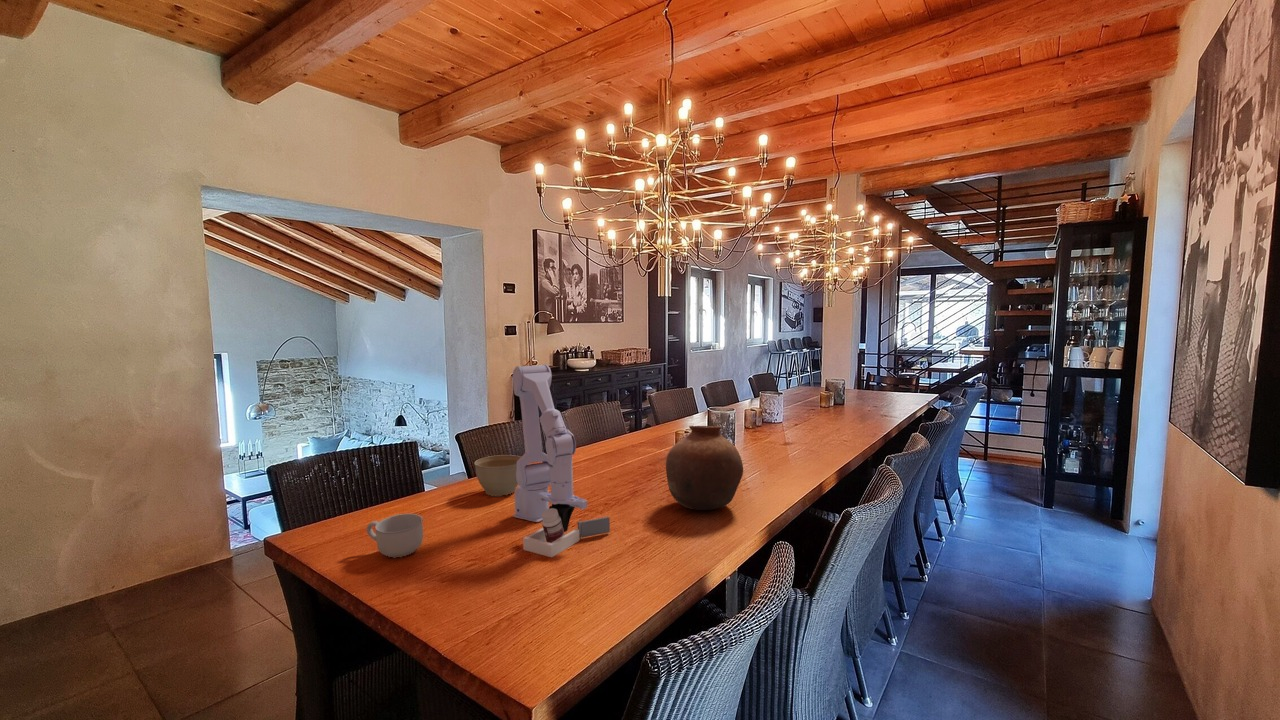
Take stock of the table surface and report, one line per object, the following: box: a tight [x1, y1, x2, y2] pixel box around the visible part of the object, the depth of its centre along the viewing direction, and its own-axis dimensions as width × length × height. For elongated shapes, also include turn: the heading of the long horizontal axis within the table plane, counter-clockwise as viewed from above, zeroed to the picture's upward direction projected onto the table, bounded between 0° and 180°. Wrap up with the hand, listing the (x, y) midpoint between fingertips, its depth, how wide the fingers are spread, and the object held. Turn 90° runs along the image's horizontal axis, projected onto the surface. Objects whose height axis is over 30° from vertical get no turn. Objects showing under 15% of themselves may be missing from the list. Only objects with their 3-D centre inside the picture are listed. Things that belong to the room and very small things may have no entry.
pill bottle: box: [541, 508, 565, 543], centre depth 133 cm, size 5×5×8 cm
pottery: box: [665, 425, 744, 511], centre depth 159 cm, size 23×23×25 cm
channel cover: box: [577, 516, 611, 540], centre depth 138 cm, size 9×1×4 cm, turn 115°
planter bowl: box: [474, 454, 522, 497], centre depth 175 cm, size 16×16×11 cm
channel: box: [522, 527, 580, 558], centre depth 133 cm, size 9×11×3 cm
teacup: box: [366, 513, 424, 559], centre depth 131 cm, size 14×11×8 cm
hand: (563, 531), depth 137 cm, fingers closed, pressing on pill bottle
